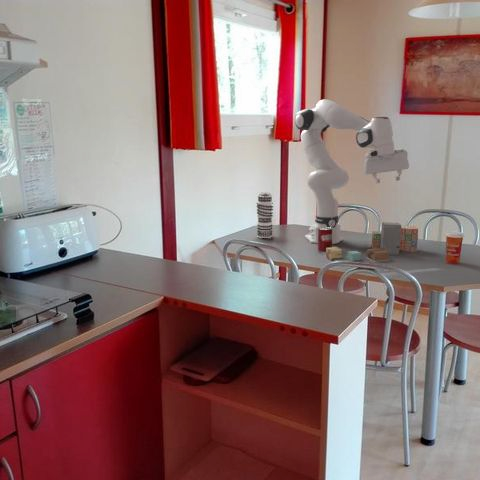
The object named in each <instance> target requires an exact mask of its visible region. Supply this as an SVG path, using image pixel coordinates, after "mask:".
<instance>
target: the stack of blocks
mask: <svg viewBox="0 0 480 480" xmlns="http://www.w3.org/2000/svg"><path fill="white" fill-rule="evenodd" d="M381 231H382V230H375V231H374V230H372V234H371V236H372V237H371V249H376V248H380V244H381ZM418 240H419V228H418V227H417V226H414V225H401V236H400V248H399V251H403V252H406V253H417V251H418Z"/></svg>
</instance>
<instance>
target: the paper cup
mask: <svg viewBox="0 0 480 480" xmlns="http://www.w3.org/2000/svg"><path fill="white" fill-rule="evenodd" d="M445 236H446V237H445V239H446V240H445V242H446V243H445V245H446V246H445V262H446V264H449V265H458V264H459V263H460V258H461V252H462V246H463V240H464V237H465V236H464V234H463V232H461V231H456V230H453V231H452V230H451V231H447V232H446V234H445Z"/></svg>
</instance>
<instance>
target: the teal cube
mask: <svg viewBox="0 0 480 480" xmlns="http://www.w3.org/2000/svg"><path fill="white" fill-rule="evenodd" d="M346 259H348V260H349V261H351V262H354V261H355V262H356V261H361V260H362V252H360V251H358V250H352V251H351V250H350V251H349V250H348V251H347V258H346Z"/></svg>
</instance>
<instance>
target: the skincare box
mask: <svg viewBox="0 0 480 480" xmlns="http://www.w3.org/2000/svg"><path fill="white" fill-rule="evenodd" d="M401 226H402V224H400V223H399V222H385V221H383V222H381V230H380V231H381V244H380V248H381V249H384V250H386V251H388V256H389V255H391V256H392V255H393V256H396V255H400V250H399V248H400V236H401Z"/></svg>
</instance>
